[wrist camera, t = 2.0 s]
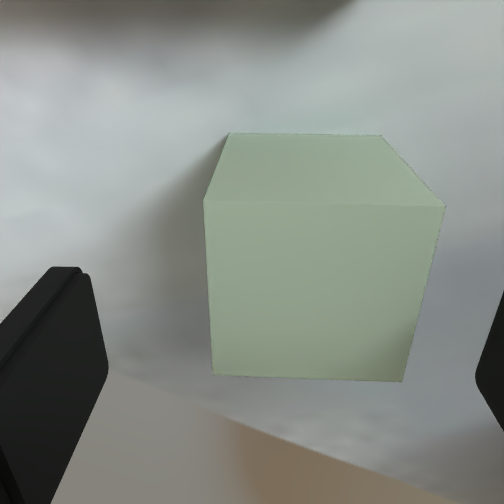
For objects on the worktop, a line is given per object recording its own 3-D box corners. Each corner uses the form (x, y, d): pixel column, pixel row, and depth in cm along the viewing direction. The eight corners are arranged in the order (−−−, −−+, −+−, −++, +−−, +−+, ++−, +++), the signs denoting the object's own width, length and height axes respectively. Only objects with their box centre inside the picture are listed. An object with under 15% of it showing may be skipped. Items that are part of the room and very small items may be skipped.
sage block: (380, 134, 14) (445, 206, 9) (360, 264, 16) (401, 382, 11) (229, 132, 14) (202, 200, 9) (232, 261, 16) (212, 374, 11)
